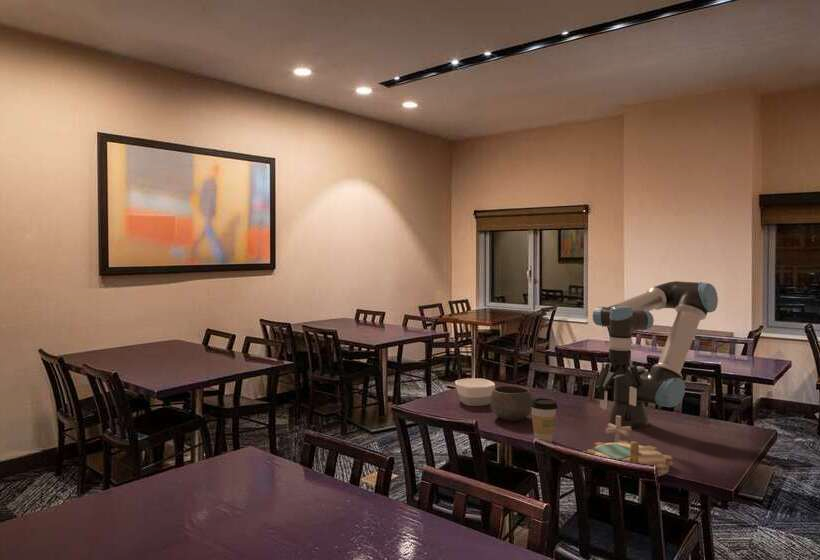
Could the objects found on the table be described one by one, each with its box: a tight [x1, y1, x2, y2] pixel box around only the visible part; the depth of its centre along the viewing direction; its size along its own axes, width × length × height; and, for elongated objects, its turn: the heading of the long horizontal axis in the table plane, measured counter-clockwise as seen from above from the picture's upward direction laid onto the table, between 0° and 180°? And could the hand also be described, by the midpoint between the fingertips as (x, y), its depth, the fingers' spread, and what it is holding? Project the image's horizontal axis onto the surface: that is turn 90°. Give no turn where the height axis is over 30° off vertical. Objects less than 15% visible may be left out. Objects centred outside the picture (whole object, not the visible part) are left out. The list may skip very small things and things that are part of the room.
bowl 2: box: [489, 385, 534, 422], centre depth 234 cm, size 18×18×13 cm
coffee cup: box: [530, 397, 559, 442], centre depth 206 cm, size 10×10×15 cm
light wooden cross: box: [604, 416, 633, 443], centre depth 204 cm, size 10×10×10 cm
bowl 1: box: [454, 377, 496, 407], centre depth 259 cm, size 18×18×9 cm
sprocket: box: [587, 440, 673, 474], centre depth 184 cm, size 26×26×9 cm
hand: (618, 406), depth 204 cm, fingers open, 13 cm apart
